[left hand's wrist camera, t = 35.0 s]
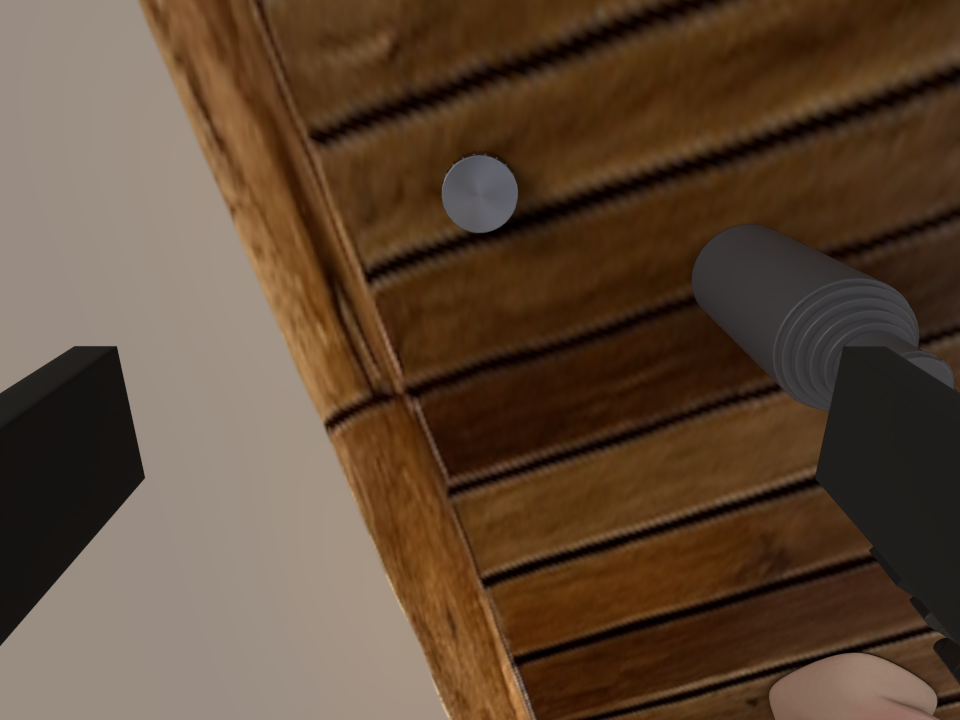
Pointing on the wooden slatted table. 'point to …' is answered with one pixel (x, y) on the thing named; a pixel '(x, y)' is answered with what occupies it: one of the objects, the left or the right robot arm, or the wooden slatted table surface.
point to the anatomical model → (852, 691)
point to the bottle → (802, 310)
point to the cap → (479, 192)
